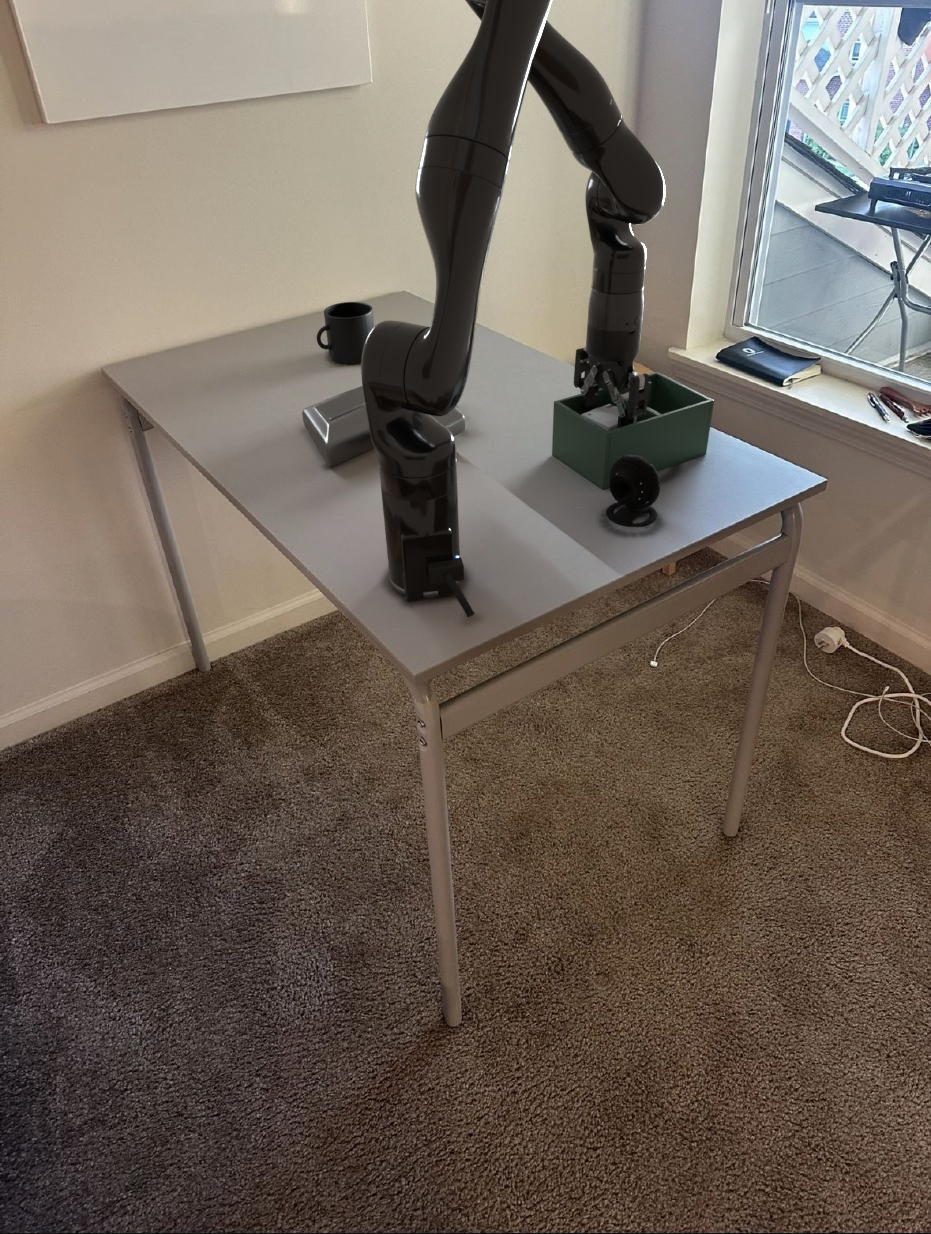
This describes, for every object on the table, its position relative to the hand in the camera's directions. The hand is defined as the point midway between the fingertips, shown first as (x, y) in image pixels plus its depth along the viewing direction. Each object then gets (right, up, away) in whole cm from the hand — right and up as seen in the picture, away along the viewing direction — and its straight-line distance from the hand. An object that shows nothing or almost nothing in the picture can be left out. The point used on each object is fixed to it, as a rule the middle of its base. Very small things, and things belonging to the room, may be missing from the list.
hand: (606, 428), depth 134 cm
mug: (-44, +23, +44) cm, 67 cm away
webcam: (+2, -15, -7) cm, 17 cm away
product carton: (0, -4, +4) cm, 6 cm away
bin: (+4, -3, +6) cm, 8 cm away
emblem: (-35, +3, +17) cm, 39 cm away
